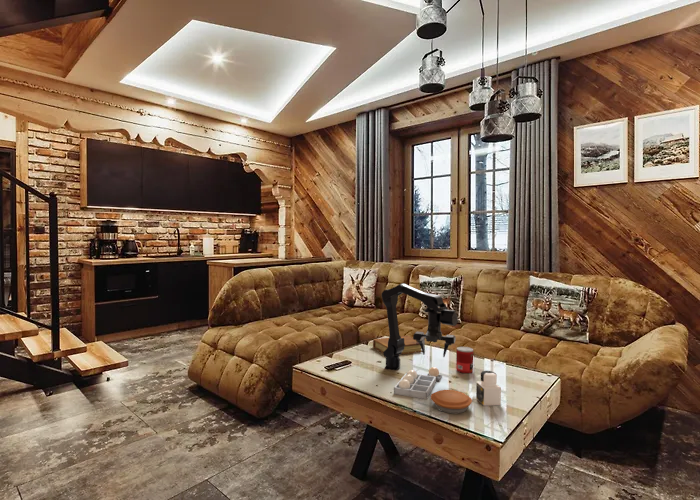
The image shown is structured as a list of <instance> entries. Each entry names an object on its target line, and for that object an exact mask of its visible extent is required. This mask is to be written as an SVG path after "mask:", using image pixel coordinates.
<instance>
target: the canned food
mask: <svg viewBox="0 0 700 500" xmlns="http://www.w3.org/2000/svg"><path fill="white" fill-rule="evenodd" d="M455 356H456V358H455V362H456V363H455V368H456V371H457V372H458V373H461V374H462V373H463V374H470V373H473V371H474V349H473V348H472V347H469V346H458V347H456V355H455Z"/></svg>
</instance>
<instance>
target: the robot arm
mask: <svg viewBox="0 0 700 500" xmlns="http://www.w3.org/2000/svg"><path fill="white" fill-rule="evenodd" d="M402 294H405V295H406V296H409V297H412V298H413V299H416V300H417V301H420V302H422V304H424V305H425V306H426V309H424V310H423V311H424V313H428V315H427V316H428V317H427V319H428V322H427V330H426V333H424V332H423V331H415V332H414V333H413V334H412V335H413V337H412V338H413V339H414V340H416V342H418V343H419V344H420V346H421V350H422V352H421V353H422V355H424V356H425V355H426V346H425V345H426V344H425V343H426V342H428V343H429V342H432V343H437V342H438V341H444V343H443V344H444V346H443V347H444V348H443V354H442V357H443V358H445V356H446V354H447V351H448V348H449V347H450V346H452V345H454V344H455V343H456V339H457V338H456V336H455V335H454V334H446V335H445V336H443V332H442V330H441V329H442V328H441V327H442V324H443V325H447V326H451V327H452V326H453V327H456V326H457V324H458V321H459V317H458V314H457V313H456V312H457V311H456V310H454V309H448V307H447V305H446V304H445V302H444V299H443V297H442V296H441V295H439V294H434V293H427V292H424V291H422V290H419V289H418V288H414V287H413V286H410V285H408V284H406V283H400V284H399V283H398V284H397V285H395V286H393V287H392V288H390V289H384V290H383V291H382V292H381V300H382V303H383V304H384V306H385V308H386V315H387V317H386V318H387V322H388V332H389V337H388V338H389V340H388V348H387V349H386V350H385V351H384V352H383V353H382V354H383V356H384V357H385V366H384V369H387V370H394V371H398V370H399V369H400V368H401V358H400V355H402V354H401V353H402V351H403V350H404V346H405V343H404V338H401V334H400V326H399V319H398V312H397V305H398V301H399V296H401V295H402ZM425 341H426V342H425Z"/></svg>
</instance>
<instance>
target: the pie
mask: <svg viewBox="0 0 700 500" xmlns="http://www.w3.org/2000/svg"><path fill="white" fill-rule="evenodd" d="M430 394H431V395H430V400H431V401H432V402H433V404H434V405H435V407H436V408H437V410H439V411H441V412H444V413H447V414H463V413H464V412H466V411H467V410H468V408H469V406H471V405H472V404H473V399H472V398H471V397H470V396H469V395H467V394H466V393H463V392H462V391H458V390H453V389H441V390H440V389H439V390H438V391H435V392H433V393H430Z"/></svg>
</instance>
